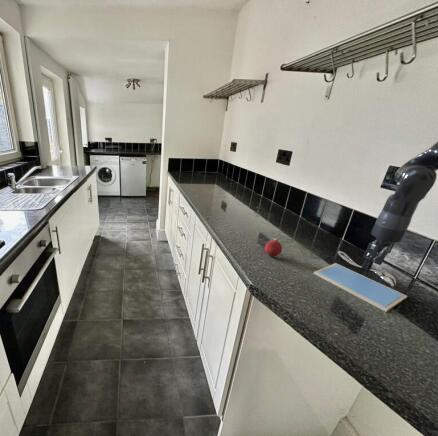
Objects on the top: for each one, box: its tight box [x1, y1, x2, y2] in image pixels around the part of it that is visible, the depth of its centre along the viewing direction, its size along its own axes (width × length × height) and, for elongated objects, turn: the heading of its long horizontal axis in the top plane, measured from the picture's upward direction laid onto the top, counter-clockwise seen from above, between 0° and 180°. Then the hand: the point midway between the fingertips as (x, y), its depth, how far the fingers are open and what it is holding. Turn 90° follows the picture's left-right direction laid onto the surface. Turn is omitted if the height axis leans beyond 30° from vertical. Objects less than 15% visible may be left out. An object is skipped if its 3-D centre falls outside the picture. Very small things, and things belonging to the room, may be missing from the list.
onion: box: [264, 238, 283, 258], centre depth 90 cm, size 6×6×8 cm
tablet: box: [313, 262, 408, 313], centre depth 76 cm, size 14×20×1 cm
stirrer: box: [337, 250, 397, 287], centre depth 85 cm, size 20×4×5 cm
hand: (371, 266), depth 83 cm, fingers open, 8 cm apart
